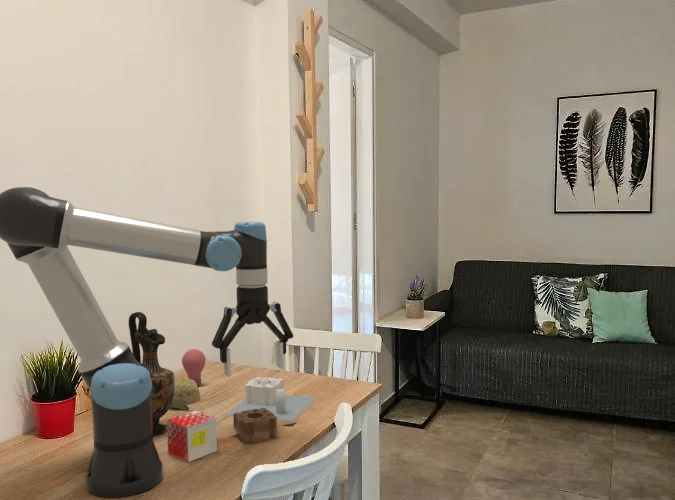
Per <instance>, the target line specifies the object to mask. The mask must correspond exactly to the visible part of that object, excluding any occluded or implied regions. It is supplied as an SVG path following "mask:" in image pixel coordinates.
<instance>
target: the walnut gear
mask: <svg viewBox="0 0 675 500" xmlns="http://www.w3.org/2000/svg"><path fill="white" fill-rule="evenodd" d="M232 416H233V429H235V431H236V432H237V433H236V434H235V436H236V437H237V439H238V440H239V441H240V442H242V444H246V445H249V444H250V443H259V442H264V441H269V440H270V439H276V438H277V437H278V422H277V421H278V420H277V416H274V414H273V413H272V412H271V411H269V410H266V408H260V409H252V410H246V411H242V412H240V413H237V412H236V413H234V414H233V415H232Z"/></svg>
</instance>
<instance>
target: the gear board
mask: <svg viewBox="0 0 675 500" xmlns="http://www.w3.org/2000/svg"><path fill="white" fill-rule="evenodd" d="M268 378H269V377H267V378H263V377H260V384H269V381H268ZM316 399H317V397H313V396H301V395H290V394H286V389H284V388H283V389H277V390H276V403H274V405H270V406H269V405H258V404H252V403H246V402H245V399H244V400H242V401H241V402H240V403H238V404H237V405H236V406H235V407H233V408H231V410H229V411H228V412H226V413H225V415H228V416H233V414H234V413H236V412H237V413H240V412H242V411H246V410H252V409H260V408H266V410H269V411H271V412H272V413H273V414H274V416H277V421H284V422H285V421H286V422H292V423H286V424H281V425H280V426H282V427H289V426H292V427H291V428H294V426H295V425H297V423H298V422H294V421H295V420H296V419H297V417H298V416H299V415H301V414H302V413H303V412H304V411H305V410H306V409H307V408H308V407H309V406H310V405H311V404H312V403H313V402H314V401H316Z"/></svg>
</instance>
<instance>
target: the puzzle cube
mask: <svg viewBox="0 0 675 500" xmlns="http://www.w3.org/2000/svg"><path fill="white" fill-rule="evenodd" d="M166 426H167V427H166V430H167V432H166V433H167V453H168V454H170V455H172V456H175V457H176V458H179V459H181V460H183V461H185V462H188V463H190V462H192V461H195V460H196V459H199V458H202V457H204V456H207V455H210V454H212V453H214V452H217V449H218V447H217V442H218V441H217V418H216V417H214V416H211V415H209V414H205V413H202V412H200V411H197V410H193V411H190V412H186V413H184V414H181V415H178V416H174V417H172V418H168V419H166Z"/></svg>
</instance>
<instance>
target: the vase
mask: <svg viewBox="0 0 675 500" xmlns="http://www.w3.org/2000/svg"><path fill="white" fill-rule="evenodd" d="M136 319H138V323H137V321H136ZM147 323H148V318H147V315H145V314H144V312H141V311H137V312H132V313H131V314H130V315H129V318H128V330H129V336H130V337H129V338H130V344H131V348H132V349H131V351H132V353H133V355H134V357H135V359H136V360H137V362H138V363H139V364H140V365H141V366H143V367H145V368H146V369H147V370H148V371H149V373H150V379H151V381H152V389H151V401H152V426H153V436H156V435H160V434H163V433H165V432H166V430H167V427H166V426H165V424H161V423H160V421H161V418H163V417H164V416H165V415H166V414H167V413H168V411H169V410H170V409H171V408H170V405H171V402H172V399H173V394H174V387H175V379H176V378H175V374H174V372H173V371H172V370H170V369H168V368H167V367H166V368H165V367H162V366H160V363H159V359H158V348H159V346H160V345H164V344H165V343H166V337H165V336H164V335H162V334H161V333H158V330H157V328H152V329H148V328H147ZM137 324H138V325H137ZM140 346H141V347H140ZM141 349H142V356H141ZM141 358H142V360H141Z"/></svg>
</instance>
